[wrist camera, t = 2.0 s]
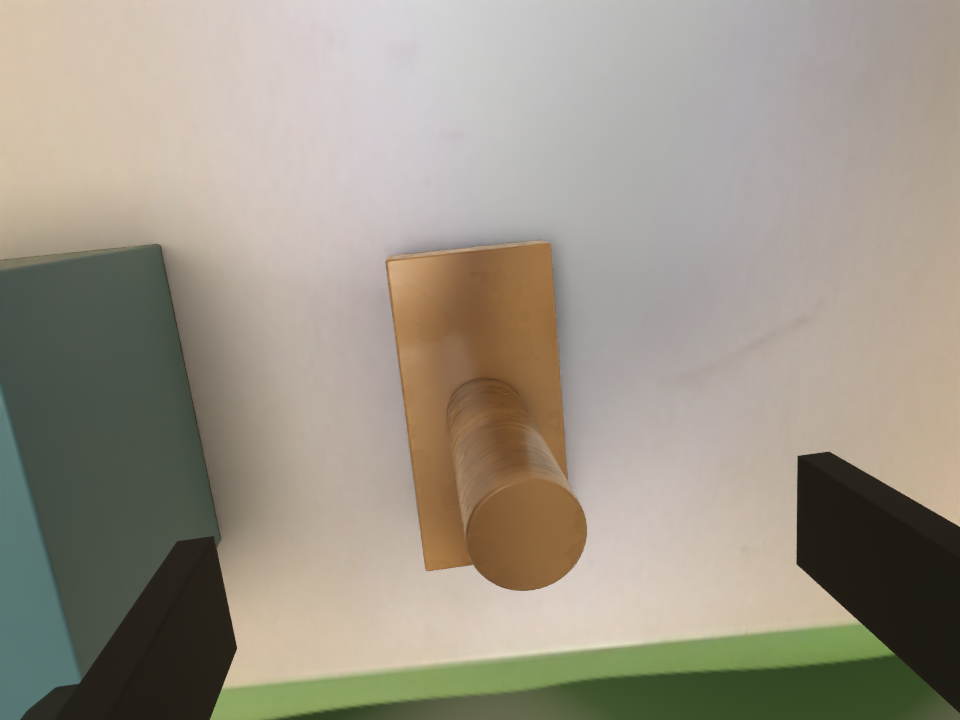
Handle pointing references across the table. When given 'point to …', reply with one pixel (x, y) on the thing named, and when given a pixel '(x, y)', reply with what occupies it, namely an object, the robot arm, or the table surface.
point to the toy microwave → (88, 458)
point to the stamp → (486, 411)
